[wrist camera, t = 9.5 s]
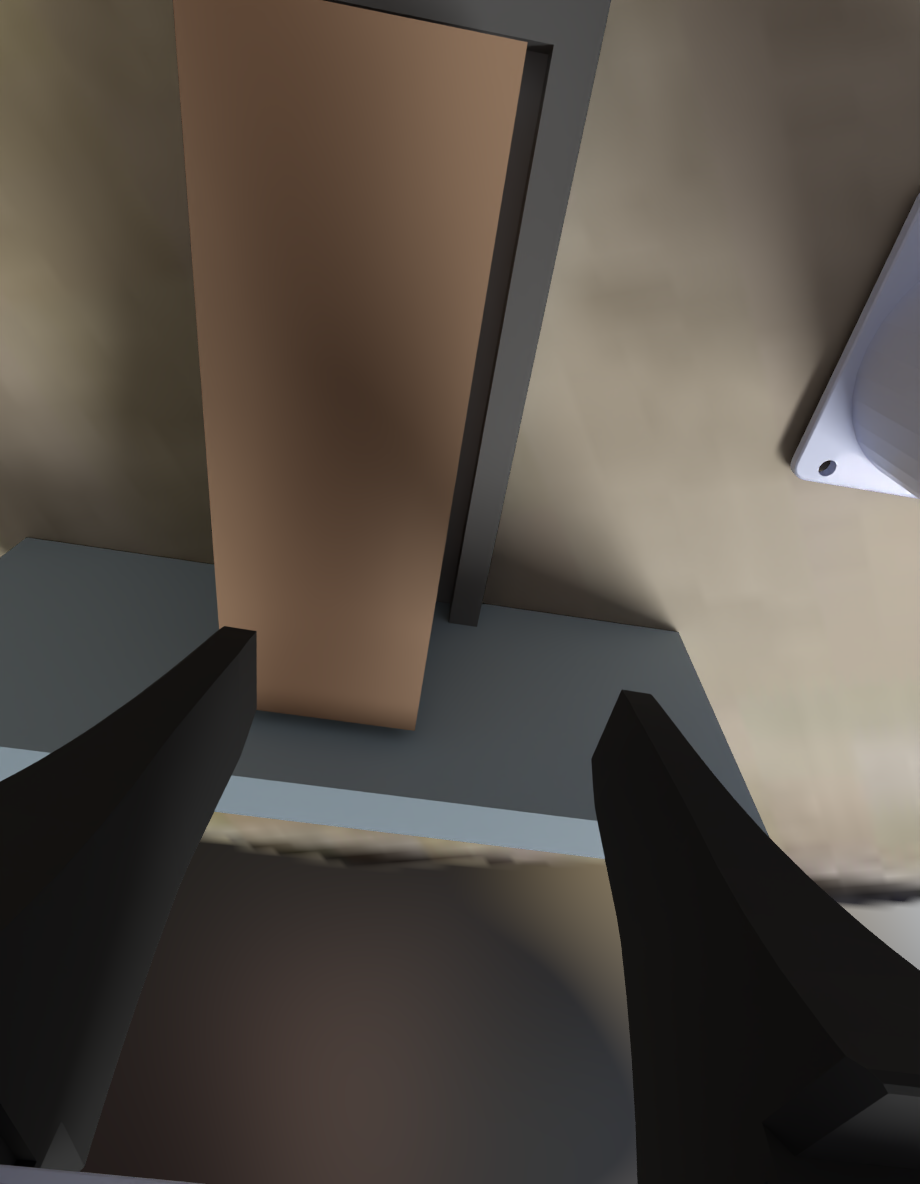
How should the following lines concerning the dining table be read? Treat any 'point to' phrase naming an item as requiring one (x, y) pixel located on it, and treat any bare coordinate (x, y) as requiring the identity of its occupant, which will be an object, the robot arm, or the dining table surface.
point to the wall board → (461, 622)
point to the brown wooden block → (338, 324)
